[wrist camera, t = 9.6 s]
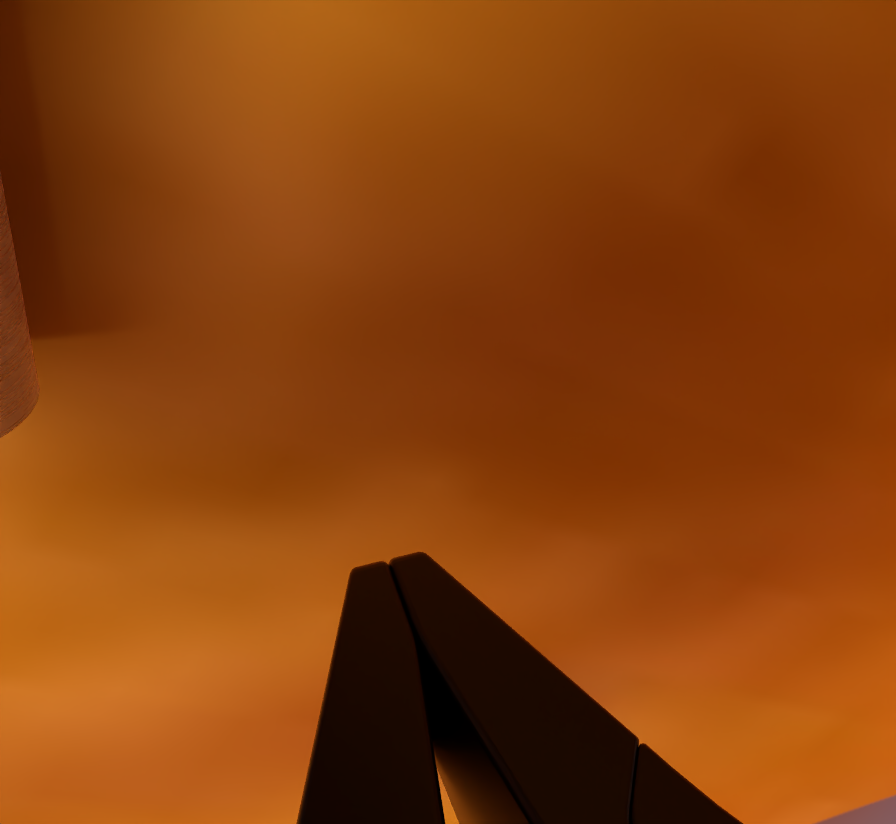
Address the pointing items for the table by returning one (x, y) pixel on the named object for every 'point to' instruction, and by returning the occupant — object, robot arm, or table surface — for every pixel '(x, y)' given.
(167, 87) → the table surface
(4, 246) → the valve
